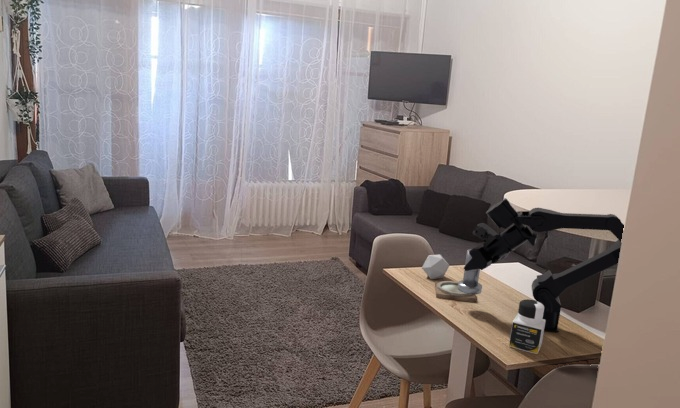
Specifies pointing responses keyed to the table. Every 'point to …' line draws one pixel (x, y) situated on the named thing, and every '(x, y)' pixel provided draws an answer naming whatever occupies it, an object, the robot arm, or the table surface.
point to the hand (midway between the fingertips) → (467, 267)
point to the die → (435, 266)
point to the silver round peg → (470, 279)
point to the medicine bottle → (528, 327)
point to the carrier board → (452, 291)
